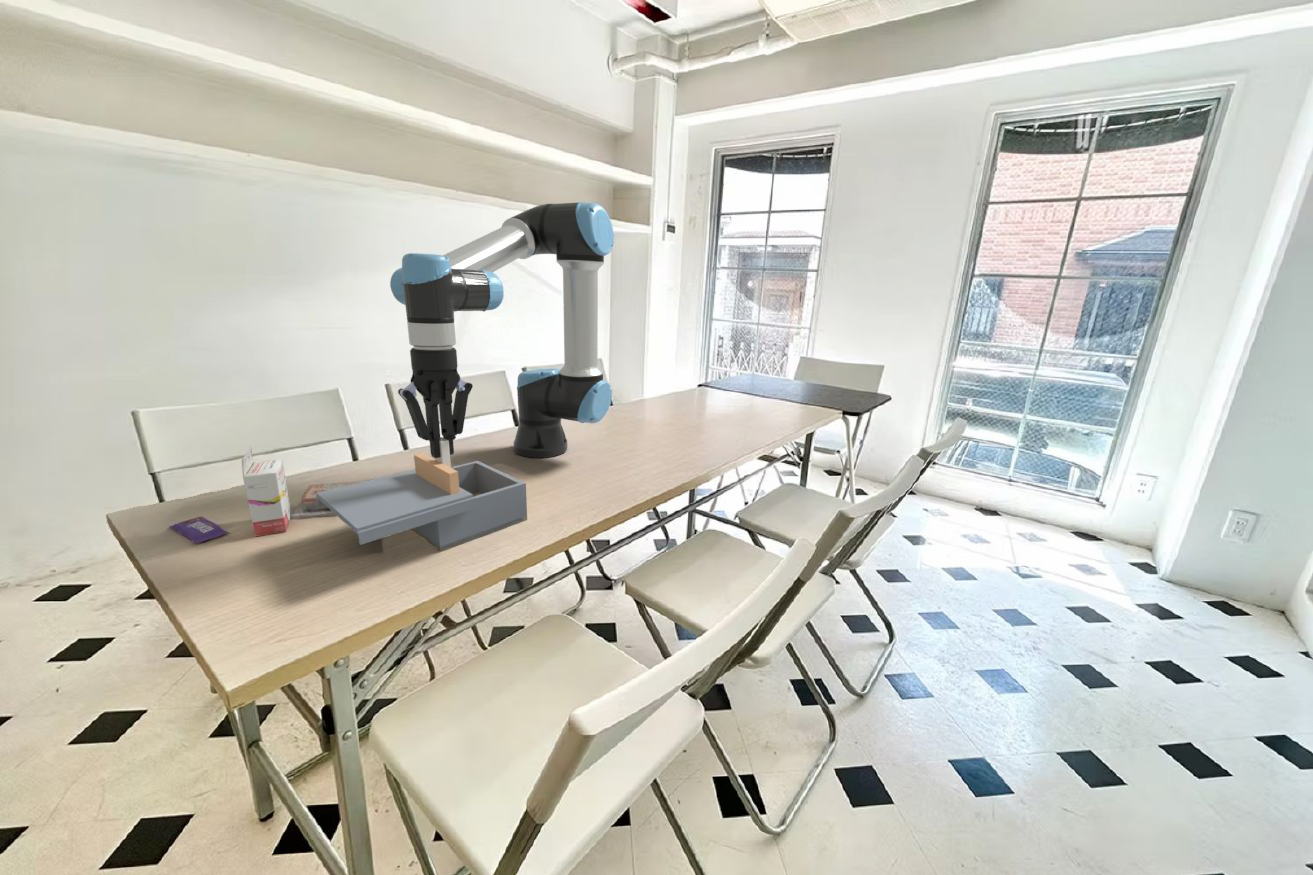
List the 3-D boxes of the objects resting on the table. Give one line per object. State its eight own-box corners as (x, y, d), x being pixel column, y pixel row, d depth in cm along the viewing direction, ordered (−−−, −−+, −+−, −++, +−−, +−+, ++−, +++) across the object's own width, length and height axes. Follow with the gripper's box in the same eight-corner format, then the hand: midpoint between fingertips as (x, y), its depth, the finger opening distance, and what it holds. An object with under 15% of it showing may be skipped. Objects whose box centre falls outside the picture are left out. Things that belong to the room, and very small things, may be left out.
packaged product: (399, 475, 110) (389, 492, 100) (402, 495, 111) (391, 514, 102) (306, 479, 105) (285, 498, 96) (309, 500, 106) (289, 521, 97)
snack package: (228, 527, 90) (193, 539, 86) (231, 537, 91) (196, 549, 87) (200, 511, 96) (166, 522, 91) (203, 521, 96) (169, 531, 92)
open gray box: (480, 494, 112) (477, 460, 110) (527, 520, 101) (525, 483, 99) (397, 518, 99) (392, 481, 97) (440, 551, 88) (436, 510, 86)
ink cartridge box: (288, 531, 92) (274, 456, 88) (254, 537, 90) (238, 460, 86) (293, 513, 100) (280, 443, 95) (262, 518, 97) (247, 446, 93)
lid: (423, 478, 103) (421, 448, 101) (475, 508, 90) (473, 474, 88) (317, 504, 89) (311, 470, 87) (360, 544, 76) (355, 505, 74)
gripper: (457, 342, 95) (466, 459, 102) (385, 346, 86) (400, 475, 92) (478, 347, 90) (485, 469, 97) (404, 351, 81) (418, 486, 88)
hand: (444, 472), depth 95 cm, fingers closed
